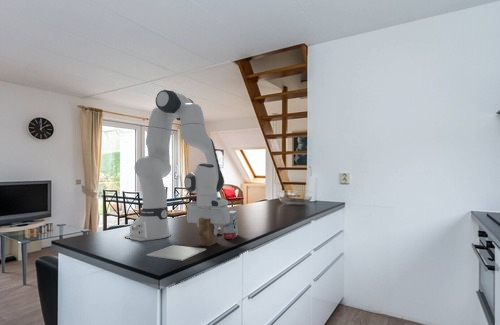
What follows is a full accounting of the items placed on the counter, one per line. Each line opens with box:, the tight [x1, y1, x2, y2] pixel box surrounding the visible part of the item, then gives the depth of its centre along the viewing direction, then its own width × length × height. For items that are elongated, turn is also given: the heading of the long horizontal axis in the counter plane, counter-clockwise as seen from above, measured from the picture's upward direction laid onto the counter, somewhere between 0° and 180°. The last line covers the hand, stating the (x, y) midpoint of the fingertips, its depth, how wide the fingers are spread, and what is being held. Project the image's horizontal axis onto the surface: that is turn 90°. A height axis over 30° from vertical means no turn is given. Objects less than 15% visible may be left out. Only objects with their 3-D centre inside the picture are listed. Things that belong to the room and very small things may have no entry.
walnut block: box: [198, 218, 218, 247], centre depth 116 cm, size 5×6×11 cm
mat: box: [146, 244, 207, 262], centre depth 104 cm, size 17×14×1 cm
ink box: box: [222, 210, 239, 240], centre depth 127 cm, size 9×5×12 cm, turn 168°
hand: (208, 234), depth 116 cm, fingers closed on walnut block, 5 cm apart
